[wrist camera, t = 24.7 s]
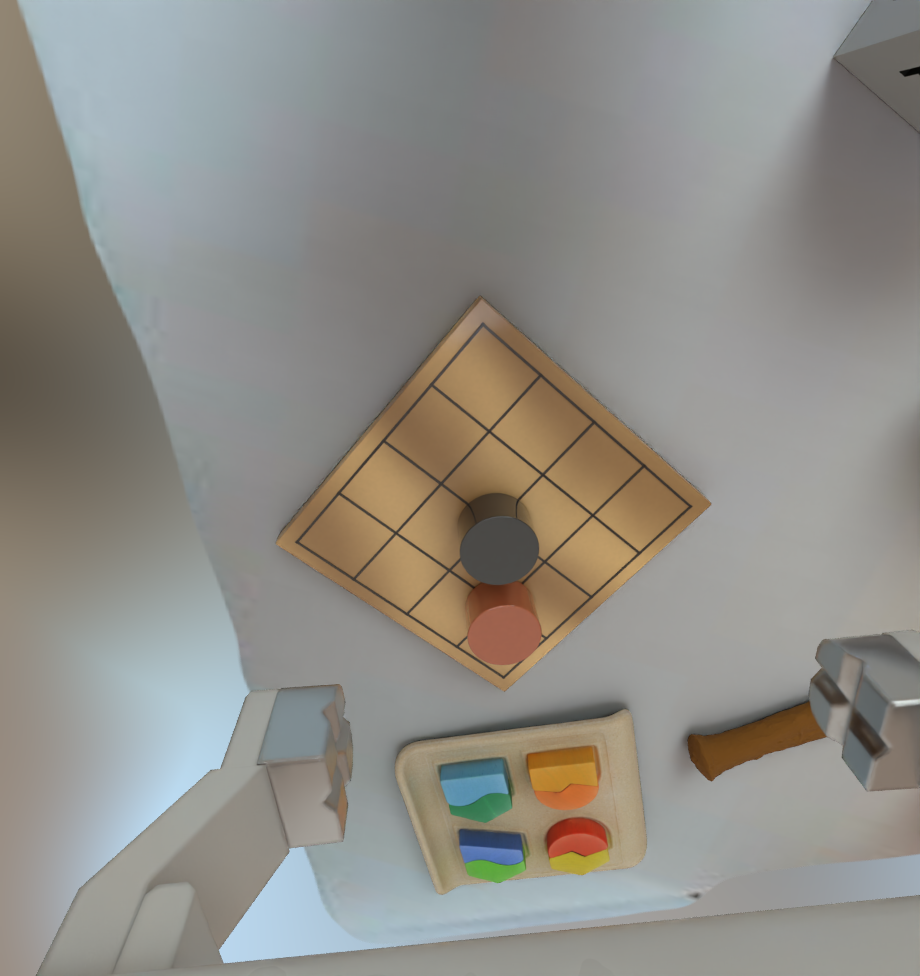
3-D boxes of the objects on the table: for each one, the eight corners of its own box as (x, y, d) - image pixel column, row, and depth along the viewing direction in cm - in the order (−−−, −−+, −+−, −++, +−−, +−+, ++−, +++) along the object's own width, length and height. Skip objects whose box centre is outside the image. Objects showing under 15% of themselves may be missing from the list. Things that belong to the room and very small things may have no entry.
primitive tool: (922, 654, 49) (956, 687, 46) (925, 704, 52) (957, 738, 49) (679, 726, 51) (695, 762, 48) (691, 771, 54) (708, 808, 51)
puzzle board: (390, 743, 51) (388, 779, 47) (628, 697, 50) (642, 731, 47) (438, 881, 58) (439, 920, 55) (646, 843, 57) (658, 881, 54)
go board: (479, 295, 36) (481, 298, 35) (704, 496, 43) (712, 505, 41) (278, 534, 42) (274, 544, 41) (502, 680, 48) (504, 692, 47)
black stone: (491, 478, 40) (496, 501, 37) (546, 521, 41) (555, 546, 38) (441, 530, 41) (443, 556, 38) (496, 570, 43) (502, 598, 40)
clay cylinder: (462, 580, 43) (464, 609, 40) (533, 574, 43) (541, 602, 40) (466, 638, 45) (470, 669, 42) (535, 631, 45) (542, 662, 42)
